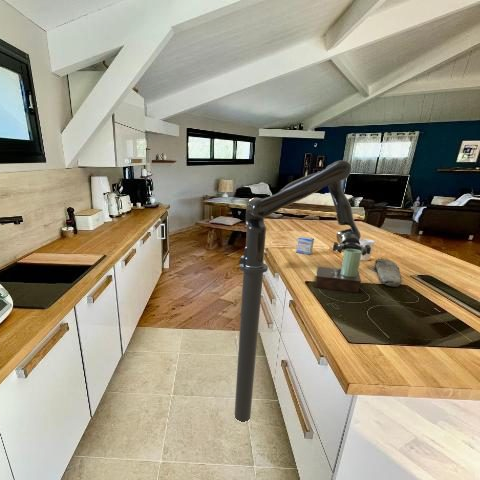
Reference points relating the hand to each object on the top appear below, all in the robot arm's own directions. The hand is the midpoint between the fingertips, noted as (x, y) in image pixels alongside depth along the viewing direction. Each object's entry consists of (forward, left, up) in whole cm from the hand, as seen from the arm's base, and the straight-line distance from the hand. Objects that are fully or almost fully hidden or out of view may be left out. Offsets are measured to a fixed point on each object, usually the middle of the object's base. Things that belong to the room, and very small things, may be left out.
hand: (352, 252), depth 127 cm
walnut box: (-4, -2, -14) cm, 15 cm away
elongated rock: (+18, +20, -14) cm, 31 cm away
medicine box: (-20, +46, -14) cm, 52 cm away
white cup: (+10, +45, -14) cm, 48 cm away
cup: (0, -2, -9) cm, 9 cm away
